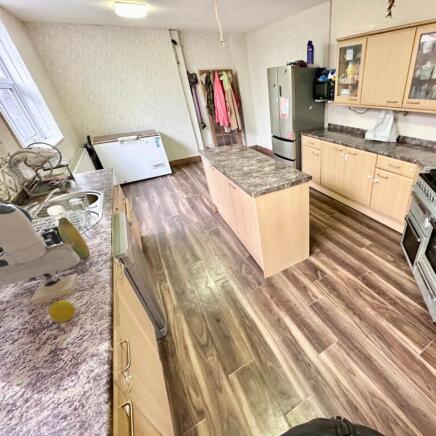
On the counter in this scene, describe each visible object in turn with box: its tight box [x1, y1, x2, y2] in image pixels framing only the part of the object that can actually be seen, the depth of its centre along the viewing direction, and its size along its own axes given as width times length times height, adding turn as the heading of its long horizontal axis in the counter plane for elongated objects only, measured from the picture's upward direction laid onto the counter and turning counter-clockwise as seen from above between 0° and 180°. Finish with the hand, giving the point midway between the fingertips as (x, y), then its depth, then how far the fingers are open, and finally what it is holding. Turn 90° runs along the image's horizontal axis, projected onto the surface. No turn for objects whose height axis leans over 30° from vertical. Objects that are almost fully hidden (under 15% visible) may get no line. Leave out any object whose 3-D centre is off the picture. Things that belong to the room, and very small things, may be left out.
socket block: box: [30, 272, 80, 306], centre depth 85 cm, size 11×9×4 cm
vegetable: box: [57, 216, 90, 259], centre depth 98 cm, size 6×6×20 cm
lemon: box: [48, 299, 76, 323], centre depth 72 cm, size 6×6×8 cm
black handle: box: [40, 225, 65, 245], centre depth 105 cm, size 12×9×12 cm
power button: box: [45, 279, 59, 287], centre depth 85 cm, size 4×4×2 cm
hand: (52, 281), depth 84 cm, fingers closed, pressing on power button
